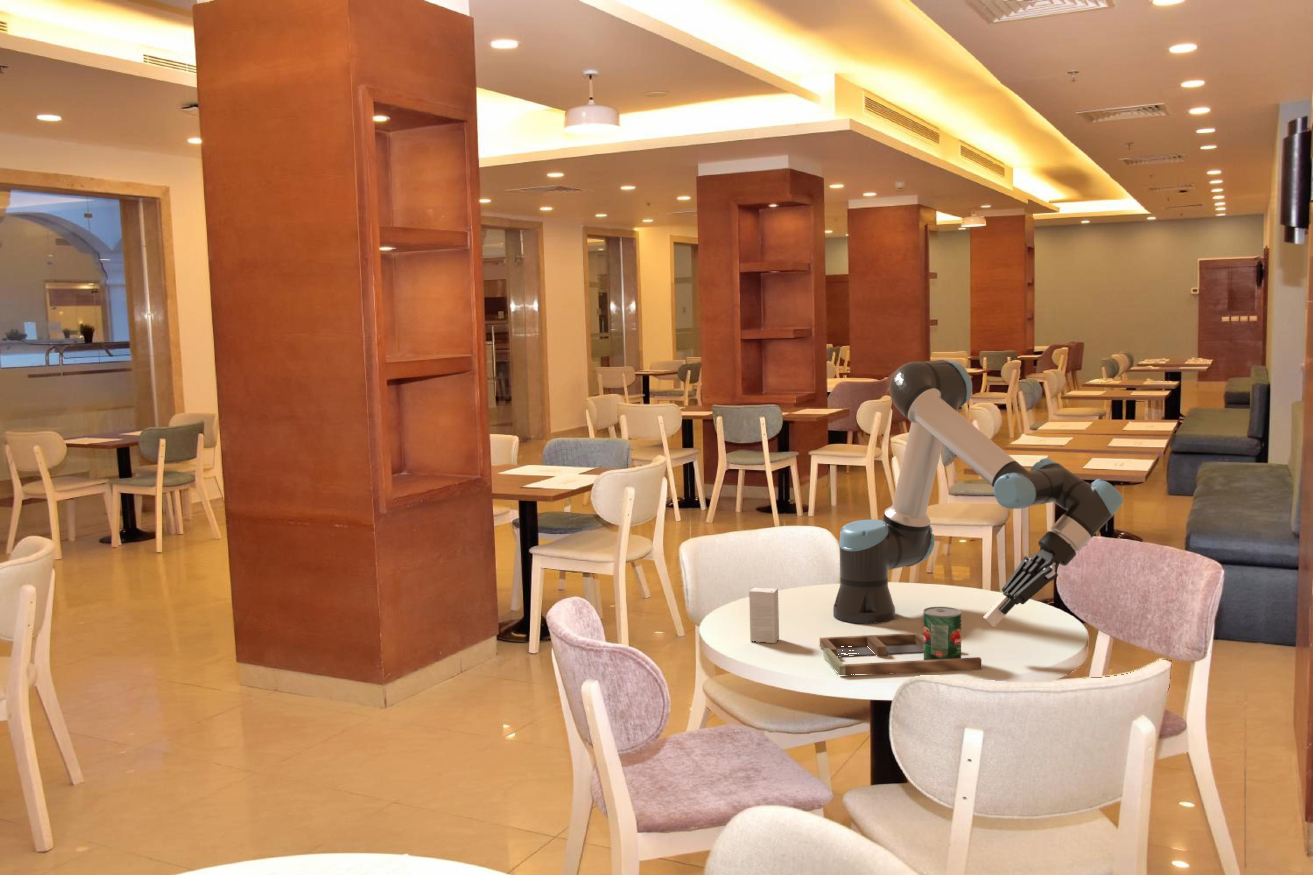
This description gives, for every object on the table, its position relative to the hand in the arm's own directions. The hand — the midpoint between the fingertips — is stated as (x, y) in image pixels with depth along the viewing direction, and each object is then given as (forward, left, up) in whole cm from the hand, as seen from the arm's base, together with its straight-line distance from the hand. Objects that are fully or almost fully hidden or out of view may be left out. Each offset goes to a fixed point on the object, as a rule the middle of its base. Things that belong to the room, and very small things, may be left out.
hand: (988, 621), depth 239 cm
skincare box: (-44, -23, -8) cm, 50 cm away
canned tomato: (-6, -8, -8) cm, 13 cm away
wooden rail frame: (-15, -13, -8) cm, 21 cm away
